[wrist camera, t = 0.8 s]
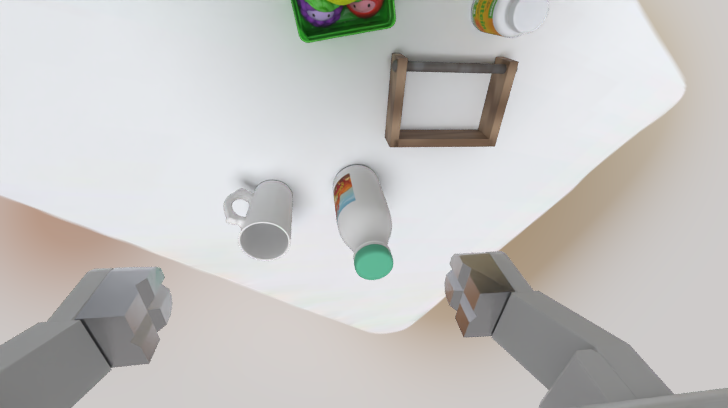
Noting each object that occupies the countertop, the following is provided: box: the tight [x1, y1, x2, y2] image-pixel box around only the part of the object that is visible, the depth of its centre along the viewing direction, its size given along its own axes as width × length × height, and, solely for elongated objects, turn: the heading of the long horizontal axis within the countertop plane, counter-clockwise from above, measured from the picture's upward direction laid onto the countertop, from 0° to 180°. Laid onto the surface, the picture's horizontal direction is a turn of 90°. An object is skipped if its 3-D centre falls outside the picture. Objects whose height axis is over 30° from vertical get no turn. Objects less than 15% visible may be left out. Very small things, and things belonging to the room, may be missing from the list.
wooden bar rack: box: [385, 53, 519, 147], centre depth 47 cm, size 12×18×4 cm
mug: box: [223, 180, 293, 261], centre depth 48 cm, size 10×7×12 cm, turn 53°
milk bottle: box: [333, 165, 393, 280], centre depth 46 cm, size 8×8×20 cm
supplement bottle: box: [471, 0, 549, 38], centre depth 39 cm, size 5×5×10 cm
